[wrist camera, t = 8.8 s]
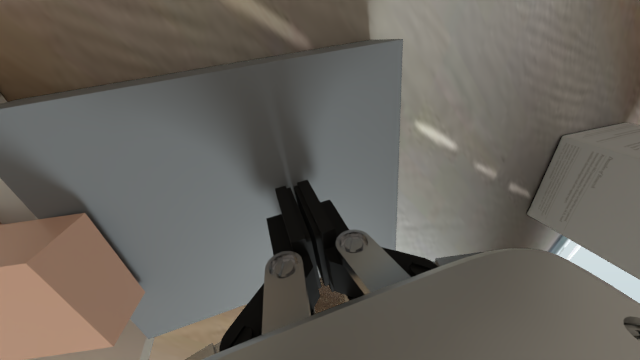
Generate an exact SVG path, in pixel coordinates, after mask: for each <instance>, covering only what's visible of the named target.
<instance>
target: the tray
mask: <svg viewBox="0 0 640 360" xmlns="http://www.w3.org/2000/svg"><path fill="white" fill-rule="evenodd" d="M6 102H7V101H6V100H5V98H4V97H3V96H2V94H1V93H0V104H2V103H6ZM31 220H38V218H37V217H36V216H35V215H34V214H33V213H32V212H31V211H30V210H29V209H28V208H27V206H26V205H25V204H24V203H23V202H22V201H21V200H20V199H19V198H18V197H17V196H16V195H15V193H14V192H13V191H12V190H11V189H10V188H9V187H8V186H7V185H6V184H5V183H4V181H3V180H2V179H1V178H0V222H1V223H2V224H9V223H16V222H23V221H31ZM153 341H154V337H153V338H150V339H148V338H147V337H146V336H145V335H144V334H143V333H142V332H141V330H140V329H139V328H138V327H137V326H136V325H135V324H134V323H133V322H132V321H131V320H130V319H129V321H128V323H127V324H126V326H125V328H124V330H123V331H122V333H121V335H120V336H119V338H118V340H117V342H116V343H115V345H114V347H108V348H101V349H94V350H88V351H81V352H74V353H67V354H60V355H53V356H47V357H40V358H33V359H26V360H149V357H150V353H151V349H152V345H153Z"/></svg>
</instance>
